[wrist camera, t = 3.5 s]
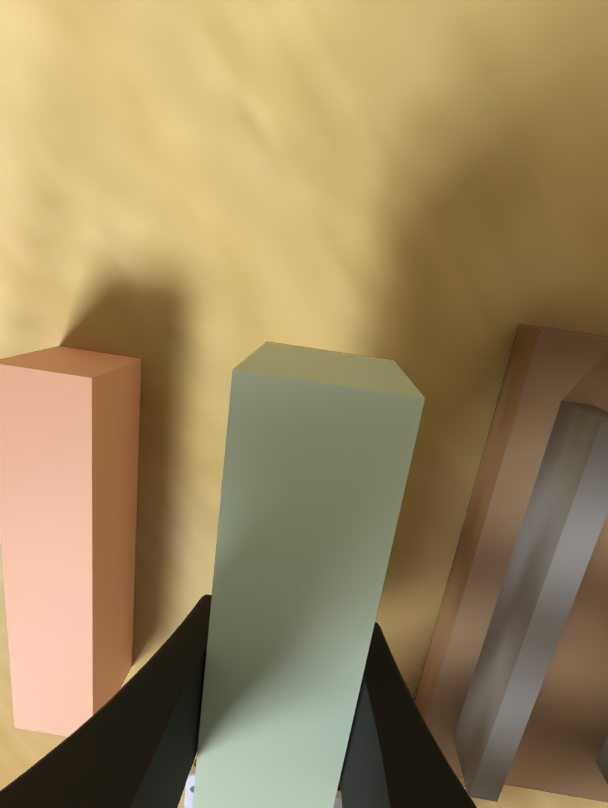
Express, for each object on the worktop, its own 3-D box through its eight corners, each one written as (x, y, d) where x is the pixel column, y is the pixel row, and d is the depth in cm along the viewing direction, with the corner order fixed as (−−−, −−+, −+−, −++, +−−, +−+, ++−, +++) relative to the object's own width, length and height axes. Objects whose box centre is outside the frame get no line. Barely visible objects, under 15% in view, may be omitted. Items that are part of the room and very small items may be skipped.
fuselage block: (309, 783, 14) (301, 946, 10) (218, 768, 14) (181, 924, 10) (394, 360, 10) (425, 398, 6) (266, 341, 10) (232, 369, 7)
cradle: (610, 766, 18) (672, 873, 15) (406, 731, 19) (422, 828, 15) (801, 365, 14) (956, 391, 10) (519, 324, 14) (579, 337, 10)
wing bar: (134, 660, 19) (92, 740, 16) (70, 649, 19) (14, 727, 16) (144, 357, 15) (91, 378, 12) (63, 345, 15) (-13, 362, 12)
